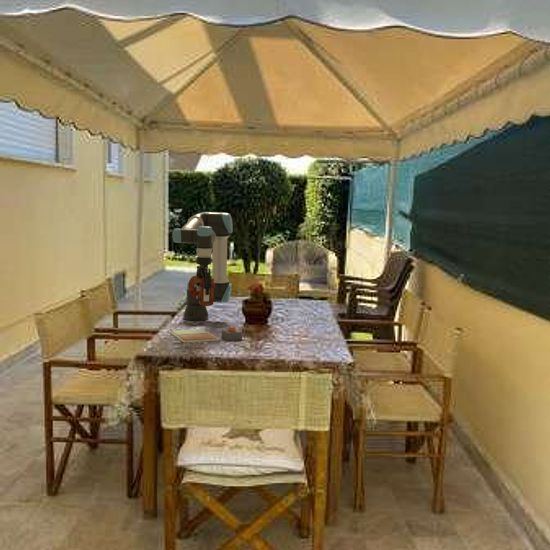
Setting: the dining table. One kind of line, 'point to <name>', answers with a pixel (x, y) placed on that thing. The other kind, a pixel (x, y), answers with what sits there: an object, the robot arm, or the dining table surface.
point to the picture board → (193, 335)
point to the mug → (201, 291)
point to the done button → (231, 329)
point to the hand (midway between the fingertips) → (202, 299)
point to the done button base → (232, 335)
